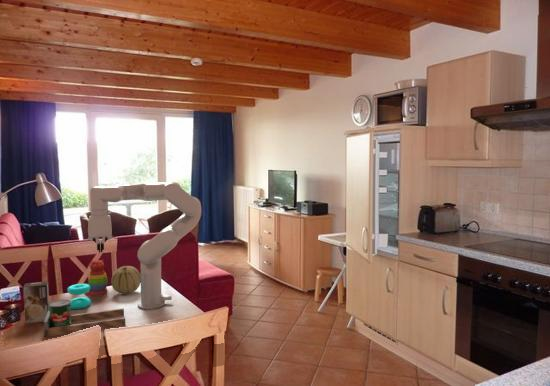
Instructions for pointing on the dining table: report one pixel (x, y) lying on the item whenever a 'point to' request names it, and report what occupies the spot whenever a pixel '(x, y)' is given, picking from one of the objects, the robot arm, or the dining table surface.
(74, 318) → the bay
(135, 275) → the cantaloupe
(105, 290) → the stacking bear
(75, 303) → the donuts
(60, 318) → the canned tomato
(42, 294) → the coffee box
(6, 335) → the dining table surface
